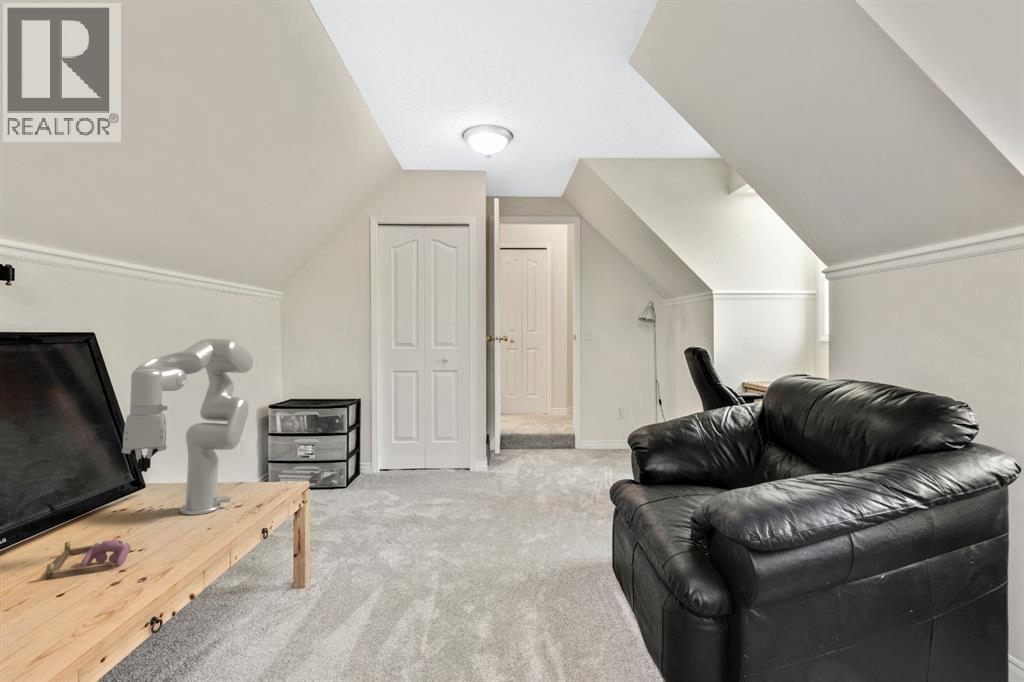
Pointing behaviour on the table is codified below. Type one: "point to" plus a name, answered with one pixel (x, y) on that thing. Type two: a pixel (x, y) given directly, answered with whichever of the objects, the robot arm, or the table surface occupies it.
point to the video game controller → (101, 548)
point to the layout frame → (56, 573)
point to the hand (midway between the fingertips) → (143, 470)
